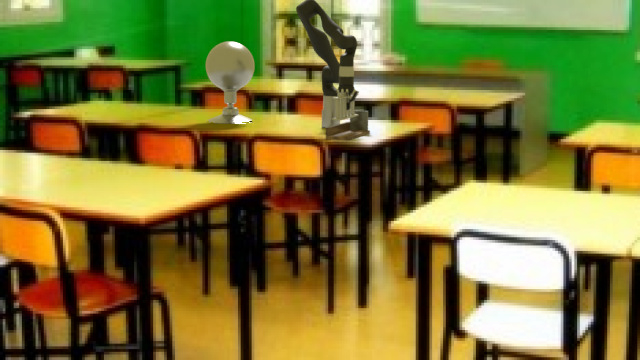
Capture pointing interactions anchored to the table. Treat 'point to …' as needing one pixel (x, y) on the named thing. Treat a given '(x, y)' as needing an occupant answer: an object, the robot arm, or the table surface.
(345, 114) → the long lego plate
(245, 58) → the desk lamp
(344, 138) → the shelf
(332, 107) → the robot arm
